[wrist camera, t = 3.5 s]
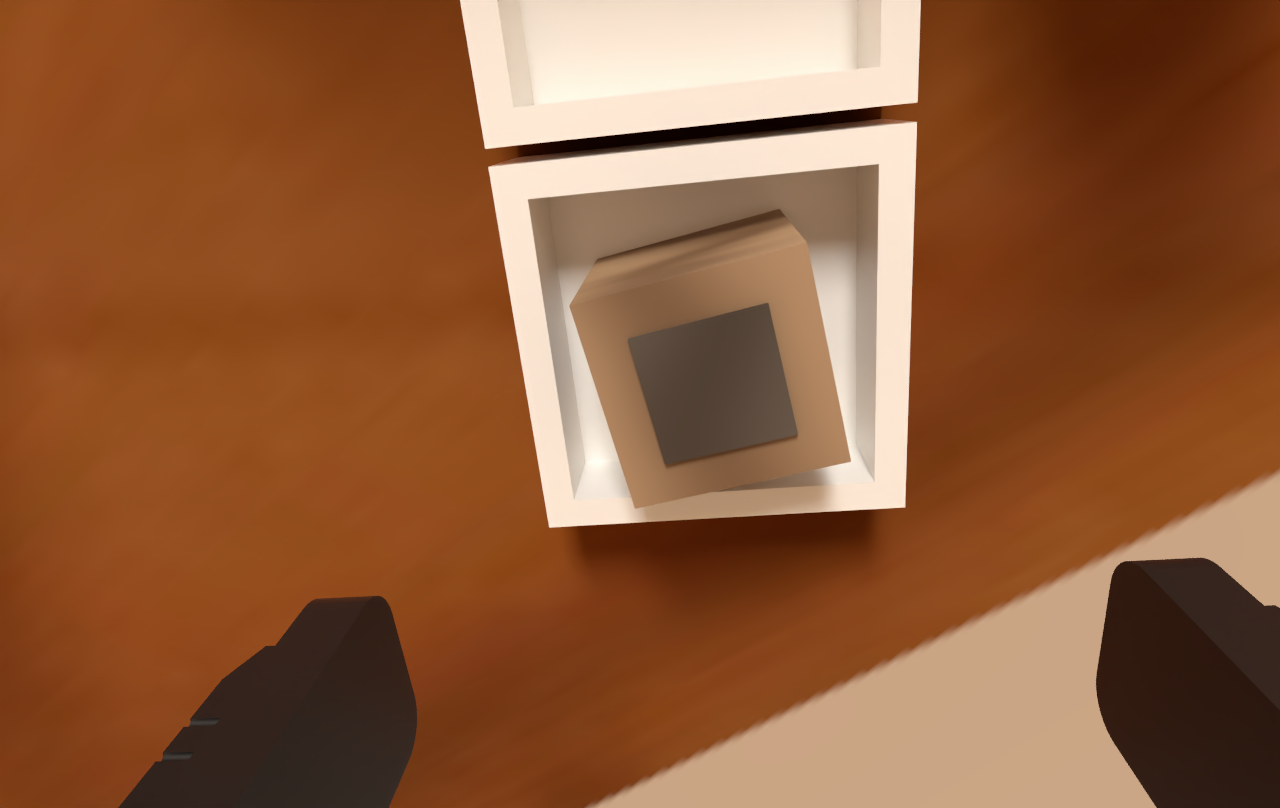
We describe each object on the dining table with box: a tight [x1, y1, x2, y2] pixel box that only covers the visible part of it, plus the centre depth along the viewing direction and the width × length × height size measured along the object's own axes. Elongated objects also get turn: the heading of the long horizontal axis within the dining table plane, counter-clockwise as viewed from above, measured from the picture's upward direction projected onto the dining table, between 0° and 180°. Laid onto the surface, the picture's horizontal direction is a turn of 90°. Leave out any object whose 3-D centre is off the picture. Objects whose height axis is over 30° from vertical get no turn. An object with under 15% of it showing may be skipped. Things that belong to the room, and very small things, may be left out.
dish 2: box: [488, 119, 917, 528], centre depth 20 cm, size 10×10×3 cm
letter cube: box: [569, 209, 851, 509], centre depth 18 cm, size 5×5×5 cm
